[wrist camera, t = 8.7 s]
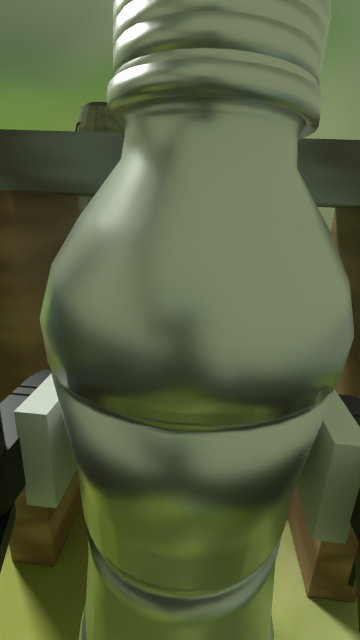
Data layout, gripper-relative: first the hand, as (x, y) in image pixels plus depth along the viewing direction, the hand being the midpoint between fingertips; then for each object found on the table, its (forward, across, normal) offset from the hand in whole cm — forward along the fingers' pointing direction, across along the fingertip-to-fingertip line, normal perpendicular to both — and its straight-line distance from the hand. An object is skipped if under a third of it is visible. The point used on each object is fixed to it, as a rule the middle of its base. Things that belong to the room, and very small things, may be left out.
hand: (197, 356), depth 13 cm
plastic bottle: (-5, 0, -11) cm, 12 cm away
